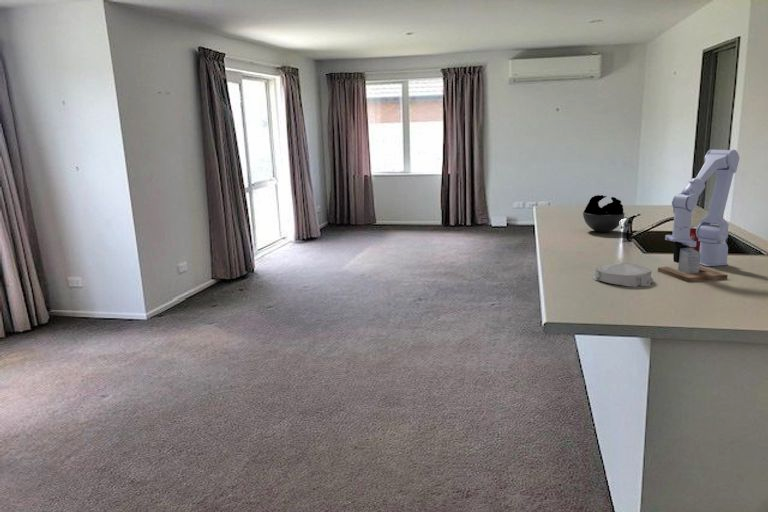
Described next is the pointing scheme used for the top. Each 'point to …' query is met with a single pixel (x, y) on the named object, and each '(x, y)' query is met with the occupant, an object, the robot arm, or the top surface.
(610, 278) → the food container
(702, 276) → the notched board
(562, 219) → the top surface
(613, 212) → the coal bowl
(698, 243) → the soda can
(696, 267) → the medicine box
